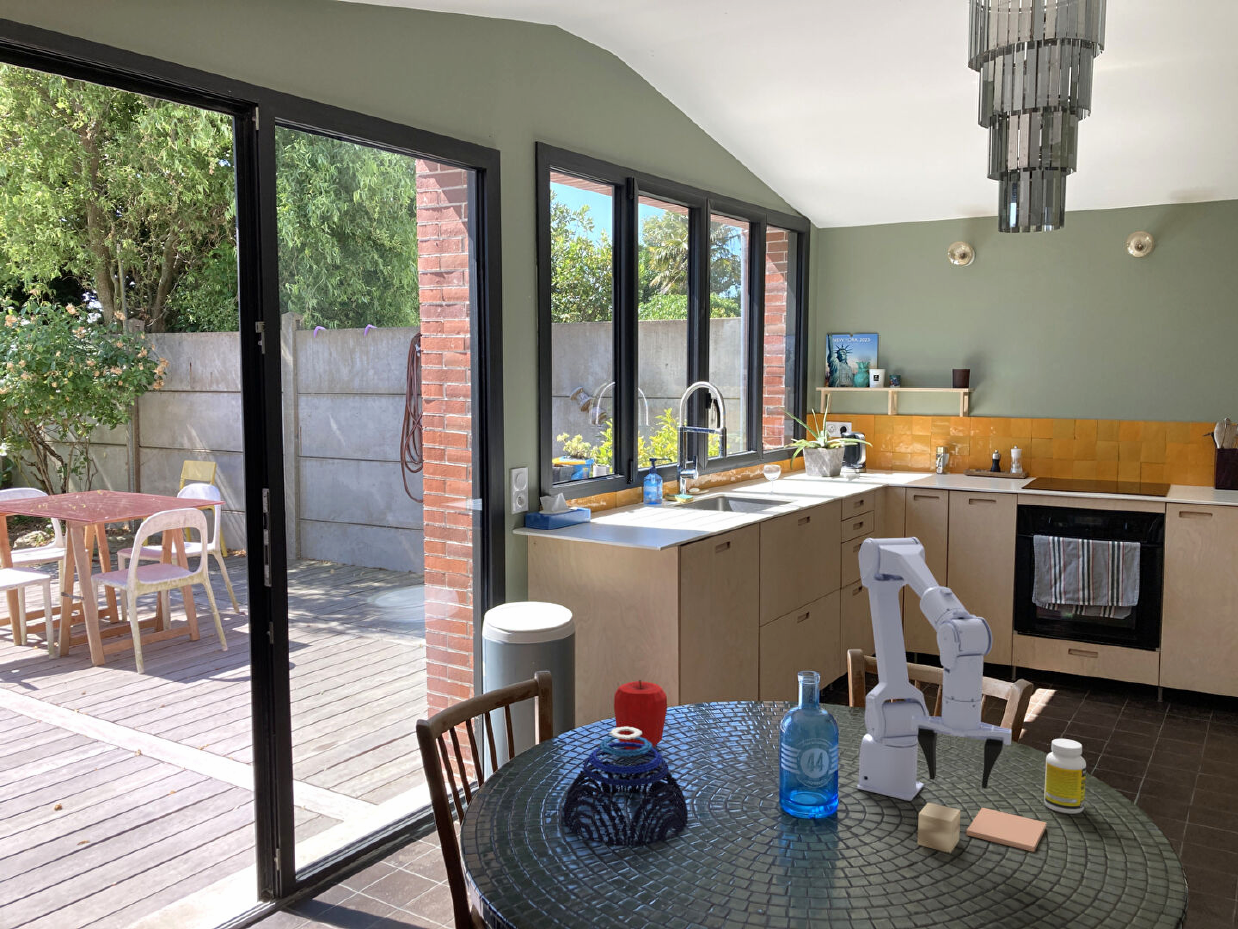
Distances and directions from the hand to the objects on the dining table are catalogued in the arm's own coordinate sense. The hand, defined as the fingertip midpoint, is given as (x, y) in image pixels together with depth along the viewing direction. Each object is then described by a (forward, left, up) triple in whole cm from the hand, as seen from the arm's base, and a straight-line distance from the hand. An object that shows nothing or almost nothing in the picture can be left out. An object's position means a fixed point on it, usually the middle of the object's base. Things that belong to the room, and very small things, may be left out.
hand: (958, 781), depth 154 cm
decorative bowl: (-47, -22, -10) cm, 53 cm away
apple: (-61, +5, -10) cm, 62 cm away
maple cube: (-2, -2, -10) cm, 10 cm away
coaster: (+6, +8, -10) cm, 14 cm away
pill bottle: (+12, +23, -10) cm, 28 cm away
